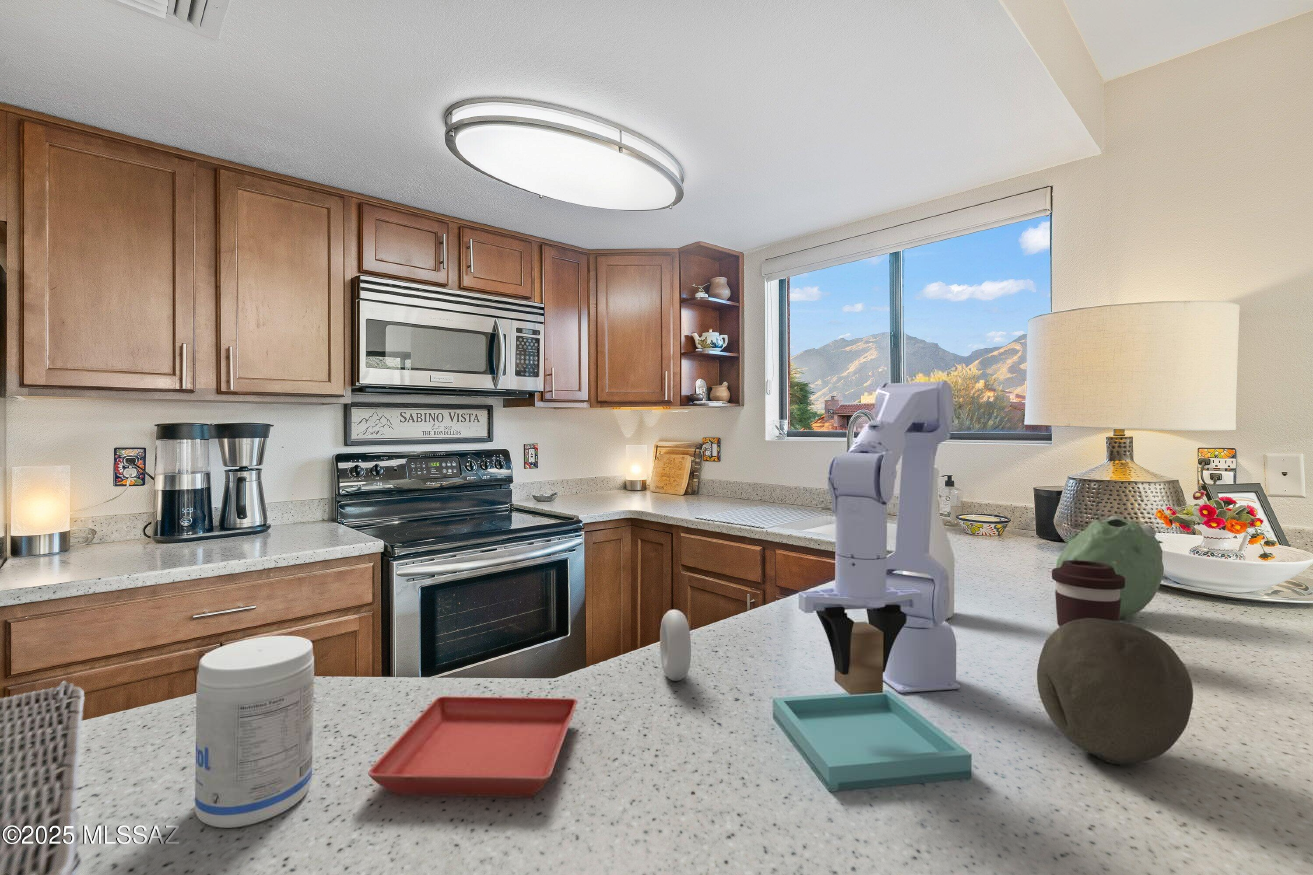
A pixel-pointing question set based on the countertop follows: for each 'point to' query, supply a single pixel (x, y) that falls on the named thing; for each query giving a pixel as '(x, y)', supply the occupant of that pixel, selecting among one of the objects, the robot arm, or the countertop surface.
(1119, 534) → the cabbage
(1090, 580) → the coffee cup
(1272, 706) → the countertop surface
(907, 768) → the tray
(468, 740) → the plant saucer
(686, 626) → the donut
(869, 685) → the block
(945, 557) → the wine bottle
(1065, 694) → the grey river stone
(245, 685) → the supplement tub
